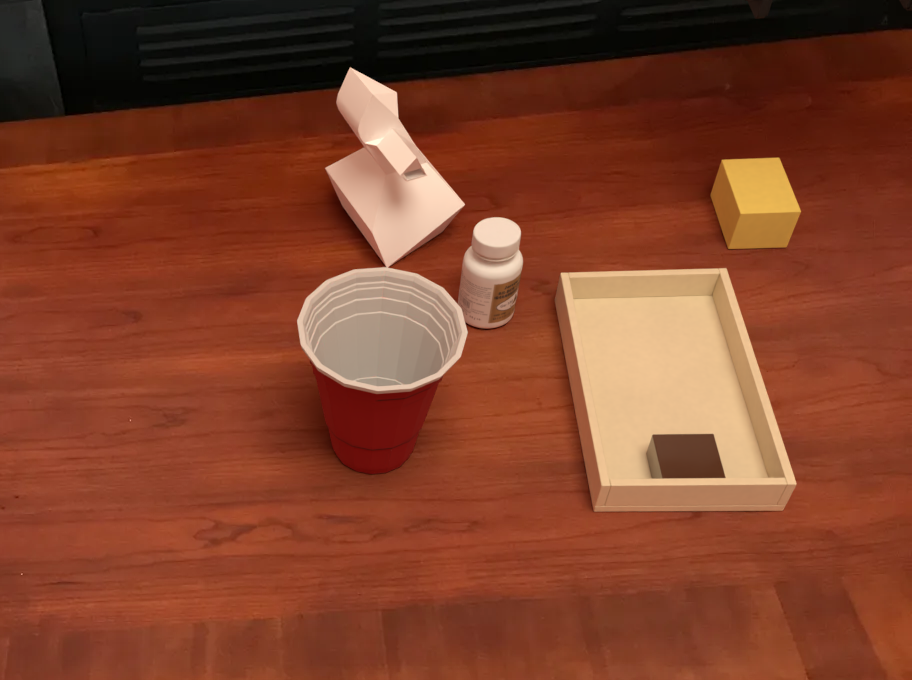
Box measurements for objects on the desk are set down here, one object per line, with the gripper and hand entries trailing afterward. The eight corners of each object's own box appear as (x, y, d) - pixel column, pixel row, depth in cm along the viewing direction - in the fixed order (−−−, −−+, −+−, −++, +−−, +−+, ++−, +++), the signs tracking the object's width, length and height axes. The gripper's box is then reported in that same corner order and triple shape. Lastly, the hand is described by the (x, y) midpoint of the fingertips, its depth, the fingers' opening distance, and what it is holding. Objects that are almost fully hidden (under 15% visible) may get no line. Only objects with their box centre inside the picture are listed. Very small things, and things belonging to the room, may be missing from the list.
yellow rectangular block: (766, 193, 95) (779, 157, 92) (786, 247, 91) (801, 211, 88) (709, 195, 96) (721, 159, 93) (727, 249, 91) (740, 213, 89)
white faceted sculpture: (399, 160, 102) (408, 12, 91) (472, 252, 94) (492, 100, 83) (311, 186, 101) (310, 39, 90) (378, 281, 93) (386, 131, 82)
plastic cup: (369, 530, 78) (376, 409, 68) (269, 441, 84) (262, 318, 74) (484, 451, 81) (505, 325, 72) (380, 370, 87) (387, 243, 77)
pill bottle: (503, 336, 88) (516, 256, 82) (448, 321, 89) (458, 241, 83) (521, 301, 90) (536, 220, 84) (468, 287, 92) (479, 206, 85)
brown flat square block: (705, 452, 78) (713, 433, 77) (718, 498, 76) (726, 478, 75) (645, 453, 79) (652, 433, 77) (655, 498, 77) (662, 479, 75)
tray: (716, 296, 88) (726, 267, 86) (783, 511, 76) (797, 484, 73) (554, 300, 90) (560, 272, 88) (593, 512, 77) (601, 485, 75)
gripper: (1072, -324, 66) (945, -31, 80) (760, -299, 68) (687, -16, 82) (1127, -276, 62) (982, 26, 75) (791, -250, 64) (709, 40, 77)
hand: (829, 4), depth 79 cm, fingers open, 9 cm apart
